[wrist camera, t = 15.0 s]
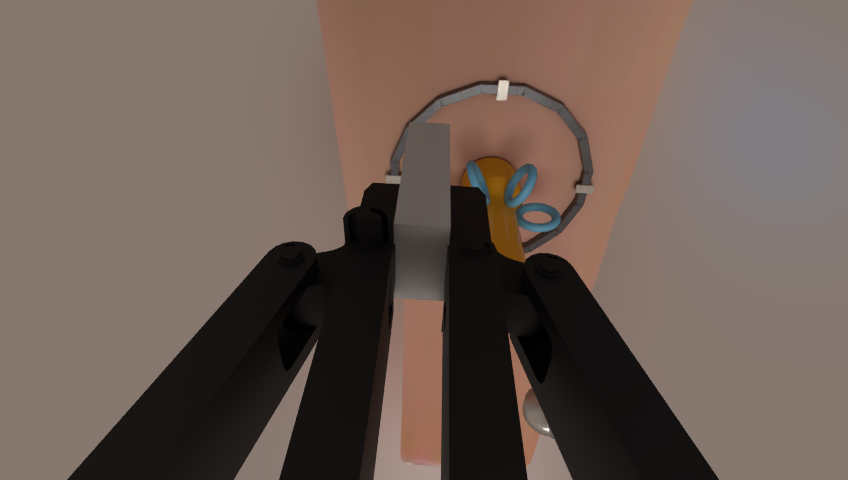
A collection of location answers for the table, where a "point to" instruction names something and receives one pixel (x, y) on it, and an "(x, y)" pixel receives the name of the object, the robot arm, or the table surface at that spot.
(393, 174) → the centring ring
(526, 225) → the cylinder
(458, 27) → the table surface
